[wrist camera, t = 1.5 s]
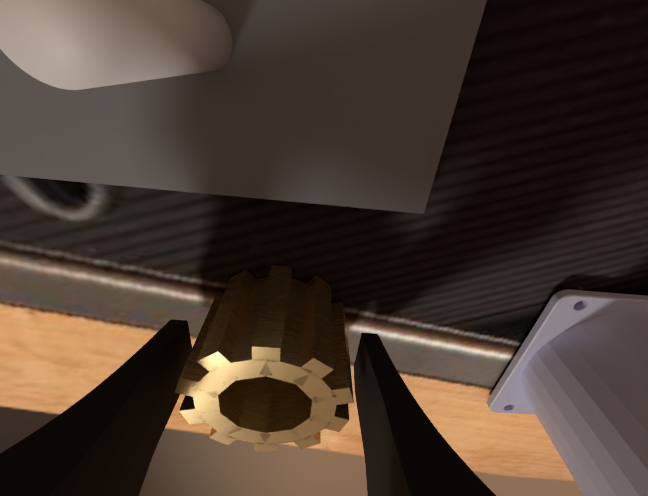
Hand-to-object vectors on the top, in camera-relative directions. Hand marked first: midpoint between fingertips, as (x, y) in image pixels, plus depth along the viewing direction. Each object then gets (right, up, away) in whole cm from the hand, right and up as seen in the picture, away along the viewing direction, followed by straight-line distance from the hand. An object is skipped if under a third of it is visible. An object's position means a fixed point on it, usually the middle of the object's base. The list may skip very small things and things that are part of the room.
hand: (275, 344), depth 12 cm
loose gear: (0, +1, +1) cm, 1 cm away
